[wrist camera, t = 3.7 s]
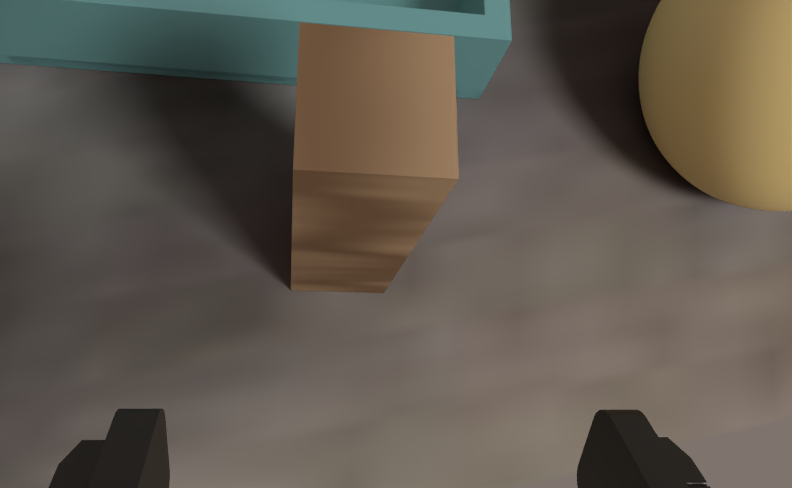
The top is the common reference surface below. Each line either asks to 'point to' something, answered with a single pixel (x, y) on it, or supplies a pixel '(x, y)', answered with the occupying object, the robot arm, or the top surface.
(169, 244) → the top surface
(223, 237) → the top surface
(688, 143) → the sculpture
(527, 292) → the top surface
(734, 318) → the top surface
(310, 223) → the peg
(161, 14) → the socket box
